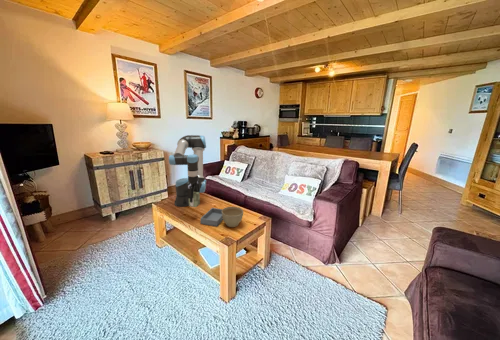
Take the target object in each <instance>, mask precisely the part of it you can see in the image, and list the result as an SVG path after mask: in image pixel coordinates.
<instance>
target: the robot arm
mask: <svg viewBox="0 0 500 340" xmlns="http://www.w3.org/2000/svg"><path fill="white" fill-rule="evenodd" d="M206 144H207V142H206V137H205V136H204V135H197V134H196V135H194V134H191V135H184V136H182V137H180V138H179V140H178V141H177V143H176V145H177V146H176V148H175V151H174V153H173V154H171V155H169V156H168V164H169V165H171V166H187V177H184V178H179V179H176V181H175V199H174V206H175V207H177V208H178V207H180V208H183V207H191V206H194V198H193V192H199V194H200V193H205V191H206V187H207V179H206V178H205V176H204V151H205V149H206V148H207V145H206ZM189 148H191V150H192V151H193V154H188V155H187V154H186V155H185V153H186V150H187V149H189ZM200 195H201V194H200ZM189 198H190V206H189Z"/></svg>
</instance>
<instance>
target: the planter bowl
mask: <svg viewBox="0 0 500 340" xmlns="http://www.w3.org/2000/svg"><path fill="white" fill-rule="evenodd" d="M222 217H223V222H224V223H225V225H226V226H227V227H229V228H234V227H235V228H236V227H238V226H239V224H240V223H241V221H242V219H243V217H244V210H243V209H242V208H241V207H238V206H227V207H224V208H223V210H222Z"/></svg>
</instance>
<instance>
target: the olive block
mask: <svg viewBox="0 0 500 340" xmlns="http://www.w3.org/2000/svg"><path fill="white" fill-rule="evenodd" d="M200 195H201V194H199V192H193V198H194V206H190V198H189V206H188V207H192V208H197V207H198V206H199V205H200V204H201V198H200Z"/></svg>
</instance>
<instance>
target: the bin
mask: <svg viewBox="0 0 500 340" xmlns="http://www.w3.org/2000/svg"><path fill="white" fill-rule="evenodd" d="M223 209H224V208H223ZM223 209H222V208H215V207H211V208H210V209H209V210H208V211H207V212H206V213H204V214H203V215H202V216H201V218H200V225H205V226H211V227H217V228H218V226H219V225H221V223H222V222H224V220H223V217H222V210H223Z"/></svg>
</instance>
